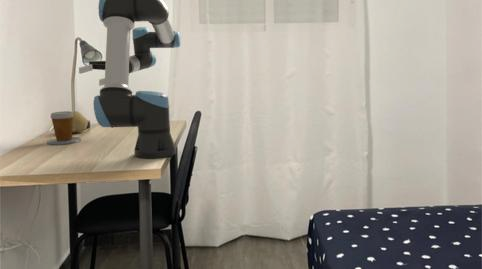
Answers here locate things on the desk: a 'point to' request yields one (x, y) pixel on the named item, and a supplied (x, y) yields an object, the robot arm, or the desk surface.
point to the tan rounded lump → (79, 122)
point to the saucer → (55, 142)
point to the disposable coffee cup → (62, 125)
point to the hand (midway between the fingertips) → (89, 76)
